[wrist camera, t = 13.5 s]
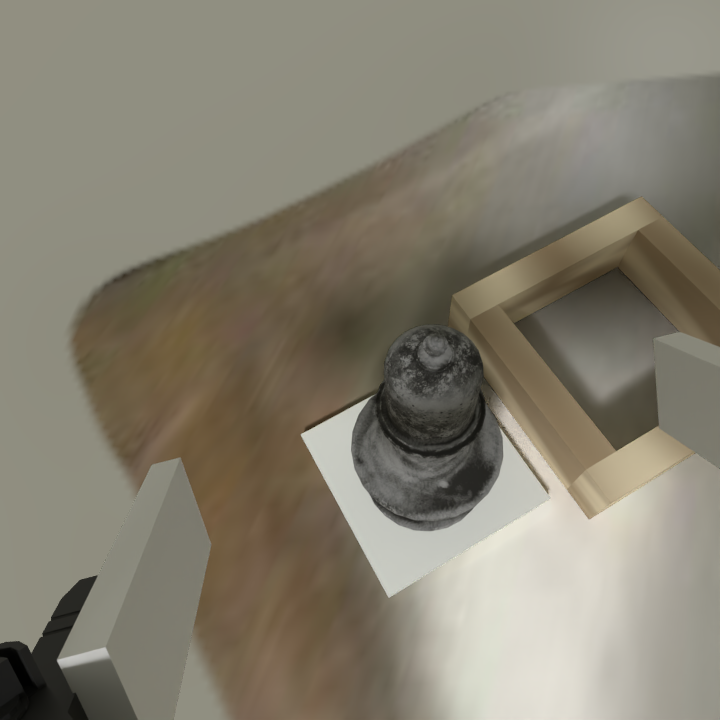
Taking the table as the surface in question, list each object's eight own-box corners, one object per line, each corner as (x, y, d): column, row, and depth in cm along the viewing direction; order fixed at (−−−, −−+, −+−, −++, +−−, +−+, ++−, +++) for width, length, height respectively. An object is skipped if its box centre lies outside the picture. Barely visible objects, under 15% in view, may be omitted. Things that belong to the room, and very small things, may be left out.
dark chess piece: (371, 399, 28) (349, 235, 17) (498, 419, 27) (558, 259, 16) (345, 524, 25) (299, 423, 14) (484, 551, 24) (545, 465, 14)
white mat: (447, 359, 29) (447, 354, 28) (548, 500, 26) (550, 497, 25) (302, 438, 28) (300, 434, 27) (388, 598, 24) (388, 597, 24)
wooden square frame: (621, 235, 32) (641, 196, 29) (783, 398, 27) (825, 369, 24) (447, 327, 30) (452, 295, 27) (588, 519, 25) (611, 503, 22)
